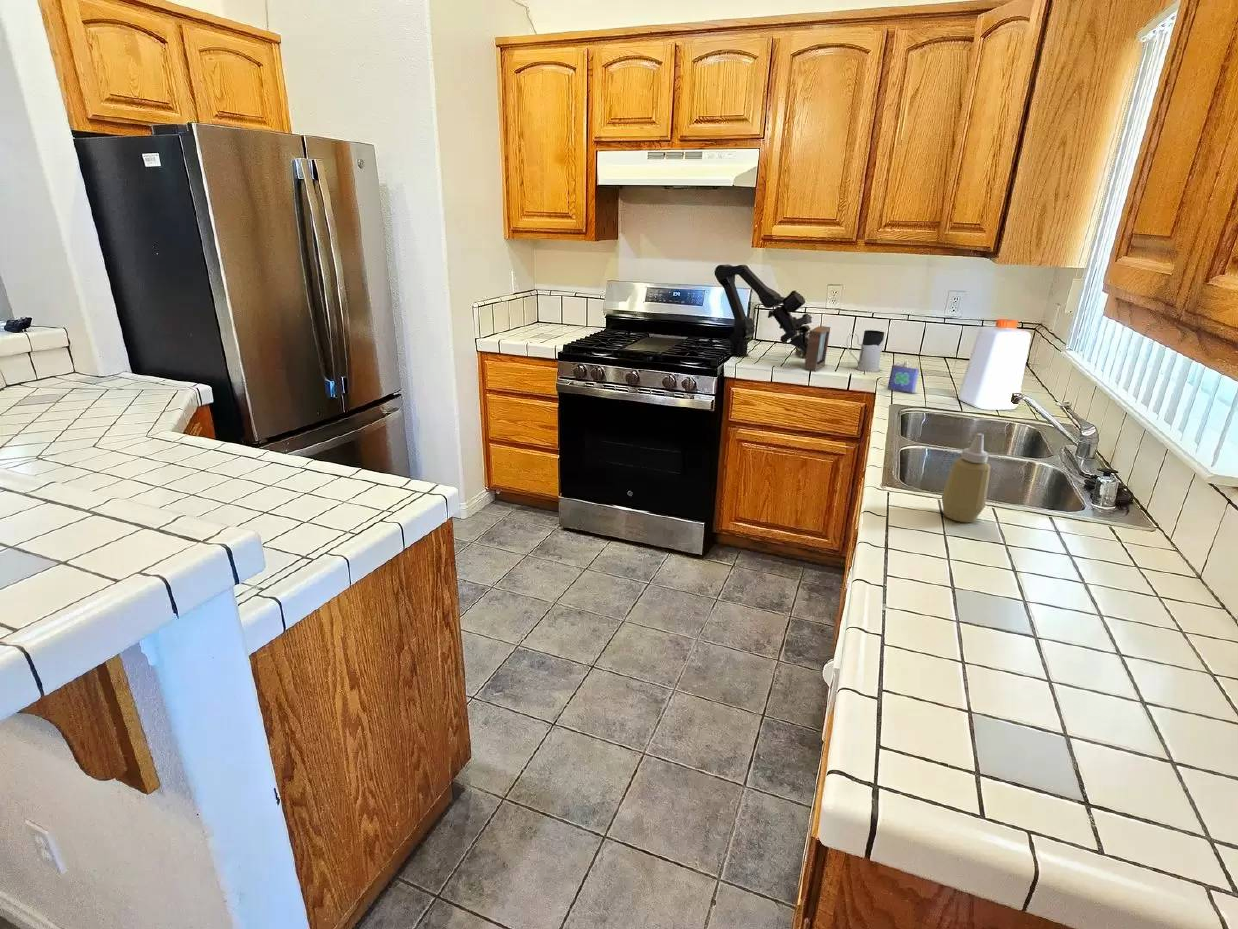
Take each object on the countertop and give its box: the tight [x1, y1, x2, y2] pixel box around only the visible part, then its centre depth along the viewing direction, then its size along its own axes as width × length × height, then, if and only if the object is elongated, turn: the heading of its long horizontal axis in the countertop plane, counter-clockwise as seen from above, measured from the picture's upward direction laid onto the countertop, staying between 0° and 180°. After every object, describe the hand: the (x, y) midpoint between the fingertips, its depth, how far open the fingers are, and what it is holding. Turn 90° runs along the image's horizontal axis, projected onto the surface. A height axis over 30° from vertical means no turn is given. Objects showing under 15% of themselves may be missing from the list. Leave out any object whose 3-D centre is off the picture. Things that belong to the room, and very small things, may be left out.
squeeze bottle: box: [941, 432, 991, 523], centre depth 130 cm, size 8×8×18 cm
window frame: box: [803, 325, 831, 372], centre depth 259 cm, size 15×4×15 cm, turn 149°
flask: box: [887, 360, 920, 394], centre depth 228 cm, size 9×3×11 cm, turn 51°
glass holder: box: [846, 329, 885, 373], centre depth 260 cm, size 9×14×15 cm, turn 77°
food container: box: [794, 331, 810, 359], centre depth 280 cm, size 12×6×10 cm, turn 179°
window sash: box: [802, 337, 808, 357], centre depth 258 cm, size 6×4×11 cm
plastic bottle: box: [957, 318, 1032, 411], centre depth 213 cm, size 15×15×28 cm
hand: (807, 351), depth 258 cm, fingers closed on window sash
